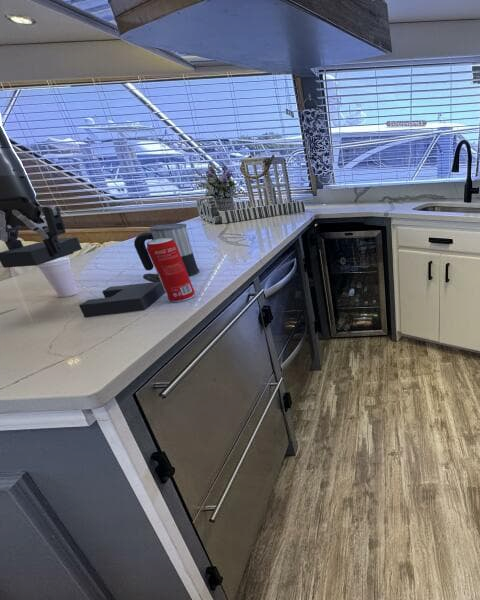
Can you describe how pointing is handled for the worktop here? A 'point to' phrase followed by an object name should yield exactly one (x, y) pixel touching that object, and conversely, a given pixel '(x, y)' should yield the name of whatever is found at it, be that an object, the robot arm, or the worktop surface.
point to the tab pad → (37, 253)
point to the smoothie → (60, 276)
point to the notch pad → (123, 299)
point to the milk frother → (178, 236)
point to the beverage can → (170, 269)
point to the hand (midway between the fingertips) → (39, 256)
